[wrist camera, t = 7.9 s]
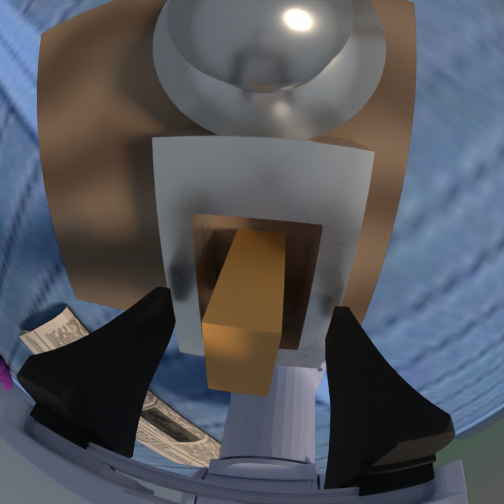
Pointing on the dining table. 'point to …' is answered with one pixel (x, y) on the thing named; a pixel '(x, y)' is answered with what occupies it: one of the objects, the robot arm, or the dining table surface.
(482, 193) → the dining table surface
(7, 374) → the purple coral
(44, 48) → the board
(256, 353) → the tan rectangular prism
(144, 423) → the newspaper
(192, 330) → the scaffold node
